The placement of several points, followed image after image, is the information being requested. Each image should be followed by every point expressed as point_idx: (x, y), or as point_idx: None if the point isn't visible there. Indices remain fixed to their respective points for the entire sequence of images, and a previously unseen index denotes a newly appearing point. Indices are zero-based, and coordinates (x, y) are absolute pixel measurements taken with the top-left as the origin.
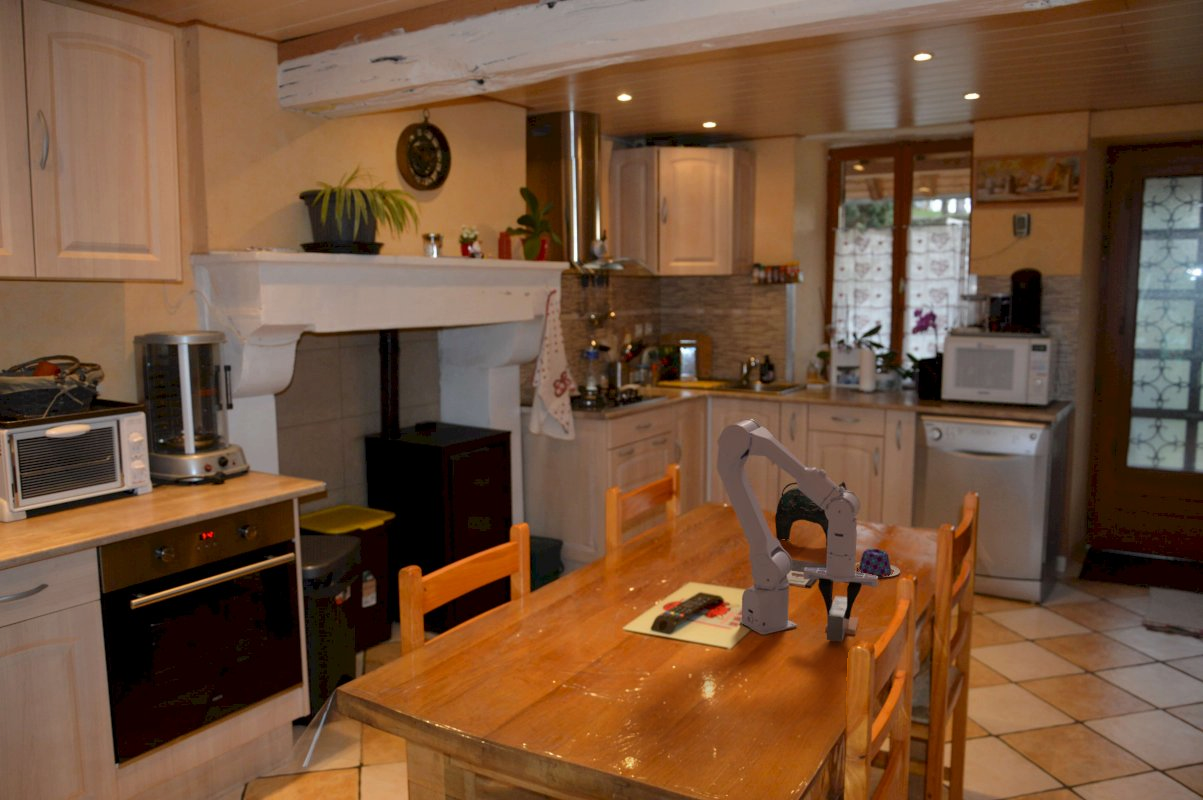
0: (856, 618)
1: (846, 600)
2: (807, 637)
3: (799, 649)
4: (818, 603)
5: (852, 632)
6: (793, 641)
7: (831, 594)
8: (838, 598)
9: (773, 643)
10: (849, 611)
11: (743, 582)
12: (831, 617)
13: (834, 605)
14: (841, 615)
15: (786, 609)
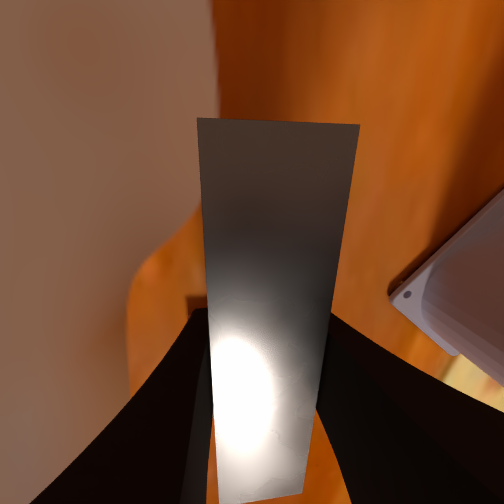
0: None
1: (233, 468)
2: (353, 224)
3: (392, 72)
4: (320, 460)
5: None
6: (408, 162)
7: (369, 473)
8: (283, 471)
9: (490, 107)
10: (182, 336)
11: None
12: (315, 125)
13: (302, 374)
14: (224, 189)
15: (501, 313)
